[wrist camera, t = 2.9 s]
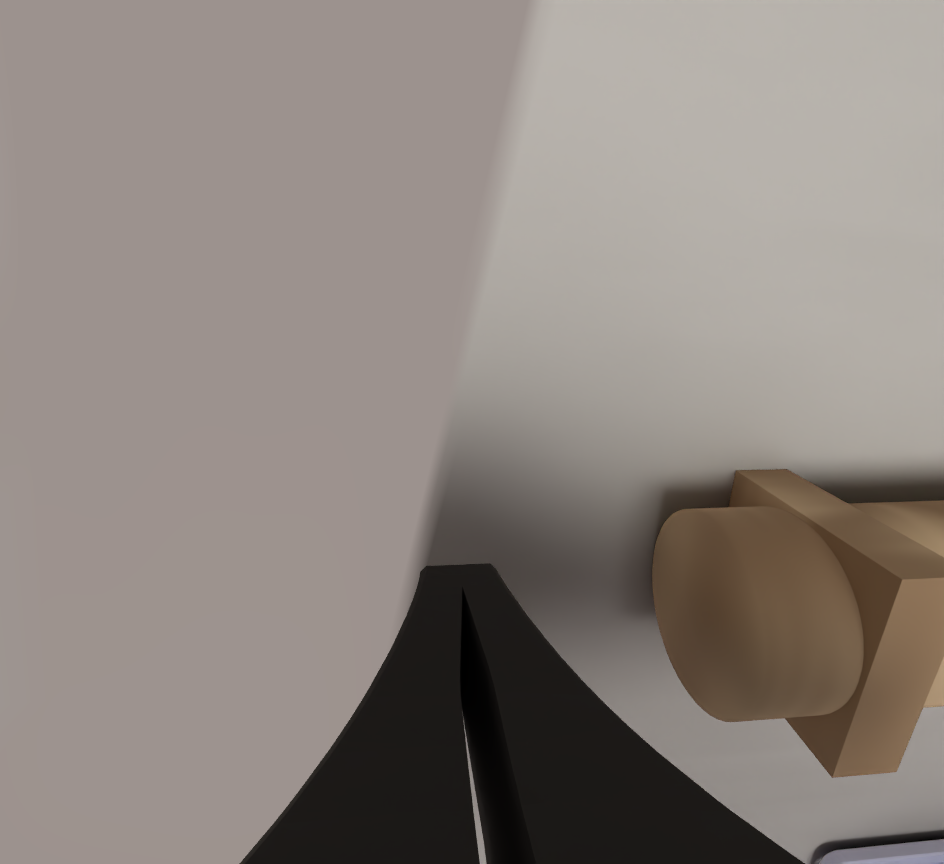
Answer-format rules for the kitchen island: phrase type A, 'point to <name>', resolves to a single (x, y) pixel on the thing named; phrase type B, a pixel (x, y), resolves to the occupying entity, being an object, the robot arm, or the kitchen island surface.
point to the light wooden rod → (808, 614)
